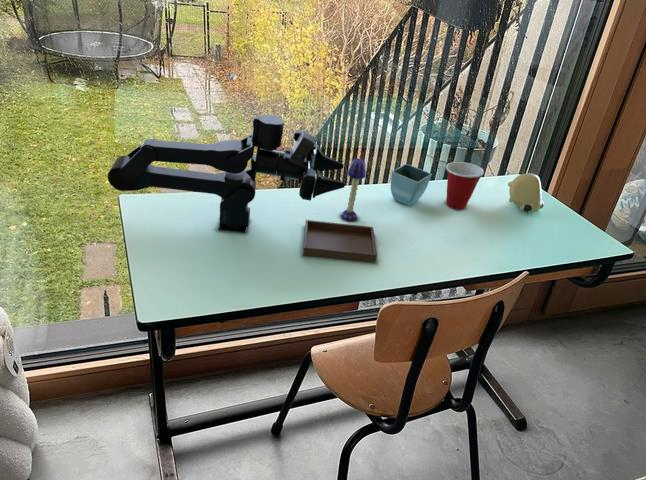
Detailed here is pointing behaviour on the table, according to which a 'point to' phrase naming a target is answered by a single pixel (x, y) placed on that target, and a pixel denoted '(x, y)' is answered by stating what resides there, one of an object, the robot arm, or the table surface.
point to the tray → (339, 241)
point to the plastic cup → (461, 183)
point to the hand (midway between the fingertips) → (344, 175)
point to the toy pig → (526, 193)
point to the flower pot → (408, 183)
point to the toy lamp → (354, 187)
